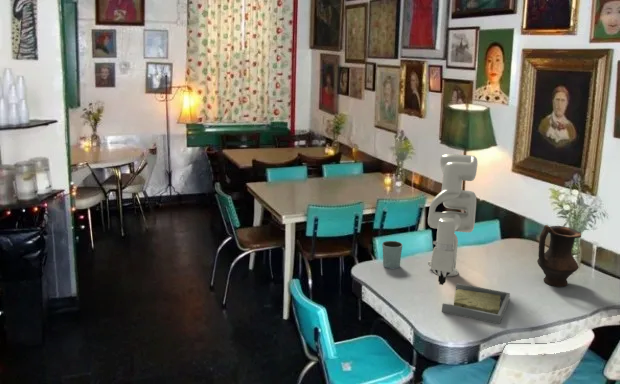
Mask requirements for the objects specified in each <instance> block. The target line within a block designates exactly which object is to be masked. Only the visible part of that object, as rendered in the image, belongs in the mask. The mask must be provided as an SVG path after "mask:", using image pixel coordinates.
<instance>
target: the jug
mask: <svg viewBox="0 0 620 384" xmlns="http://www.w3.org/2000/svg"><path fill="white" fill-rule="evenodd" d="M548 234H549V236H550V237H549V239H550V241H549V245H548V249H547V250H546V249H545V247H546V239H547V237H548ZM581 237H582V233H581V232H579V231H578V230H576V229H573V228H571V227H568V226H565V225H564V226H562V225H548V224H545V225H544V227H543V229H542V231H541V233H540V235H539V241H538V255H537V256H538V259H537V261H536V262H537V264H538V266H539V268H540V269H541V270H542V272H543V274H544V278H543V282H544V283H545V284H547V285H549V286H551V287H557V288H564V287H567V286H568V285H569V284H568V278H569V277H570V276H571V275H573V274H574V272H576V271H577V270H578V269H579V268H580V267H579V265H578V262H577V260H576V259H575V258H574V256H573V253H572V251H573V246H574V244H575V243H574V242H575V239H578V238H581ZM545 250H546V251H545Z"/></svg>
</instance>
